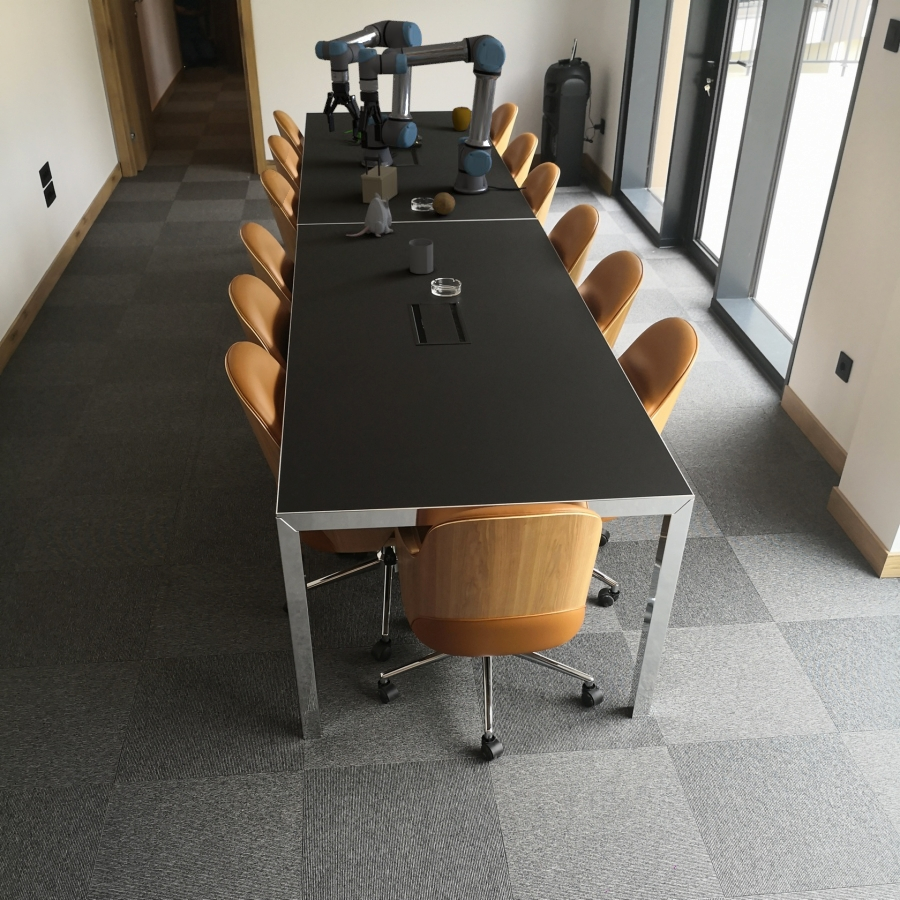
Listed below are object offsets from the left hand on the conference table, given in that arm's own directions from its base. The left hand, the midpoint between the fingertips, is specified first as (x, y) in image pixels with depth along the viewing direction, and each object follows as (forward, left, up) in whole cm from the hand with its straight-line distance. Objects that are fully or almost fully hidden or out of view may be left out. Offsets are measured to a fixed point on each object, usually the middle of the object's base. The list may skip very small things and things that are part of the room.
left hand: (343, 133), depth 378 cm
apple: (-127, -23, -25) cm, 132 cm away
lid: (+1, +20, -14) cm, 24 cm away
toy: (+44, +48, -25) cm, 70 cm away
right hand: (+7, +21, 0) cm, 22 cm away
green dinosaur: (-76, -47, -25) cm, 93 cm away
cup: (+61, +86, -25) cm, 108 cm away
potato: (+3, +55, -25) cm, 60 cm away
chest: (+1, +20, -25) cm, 31 cm away
